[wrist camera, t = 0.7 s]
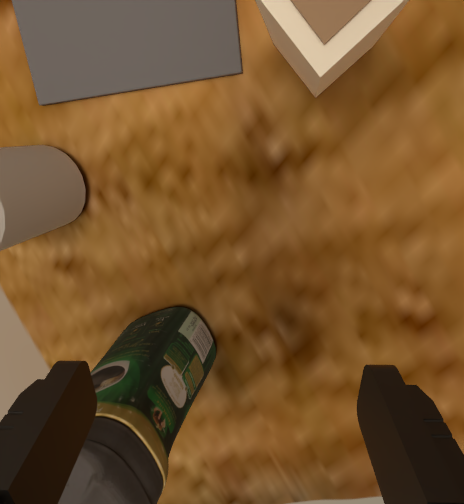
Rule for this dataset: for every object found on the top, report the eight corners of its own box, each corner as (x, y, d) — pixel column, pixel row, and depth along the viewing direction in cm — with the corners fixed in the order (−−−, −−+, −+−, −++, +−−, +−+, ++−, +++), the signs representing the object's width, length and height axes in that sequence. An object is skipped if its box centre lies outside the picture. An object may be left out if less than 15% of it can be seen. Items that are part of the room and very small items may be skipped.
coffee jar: (153, 382, 40) (34, 578, 22) (117, 323, 38) (-41, 485, 21) (230, 359, 37) (161, 565, 19) (195, 293, 35) (84, 455, 18)
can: (25, 132, 33) (-120, 134, 22) (98, 161, 32) (-12, 179, 21) (16, 206, 36) (-116, 242, 25) (83, 234, 35) (-20, 284, 24)
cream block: (273, 44, 27) (247, -19, 15) (329, -13, 25) (347, -132, 13) (315, 97, 27) (320, 76, 16) (372, 46, 25) (425, -20, 14)
